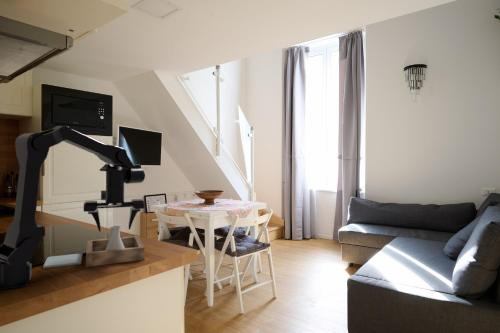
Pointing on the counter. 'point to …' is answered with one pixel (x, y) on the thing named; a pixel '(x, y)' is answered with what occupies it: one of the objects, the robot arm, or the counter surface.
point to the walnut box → (114, 251)
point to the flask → (115, 239)
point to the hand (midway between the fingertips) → (114, 230)
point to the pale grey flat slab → (63, 260)
